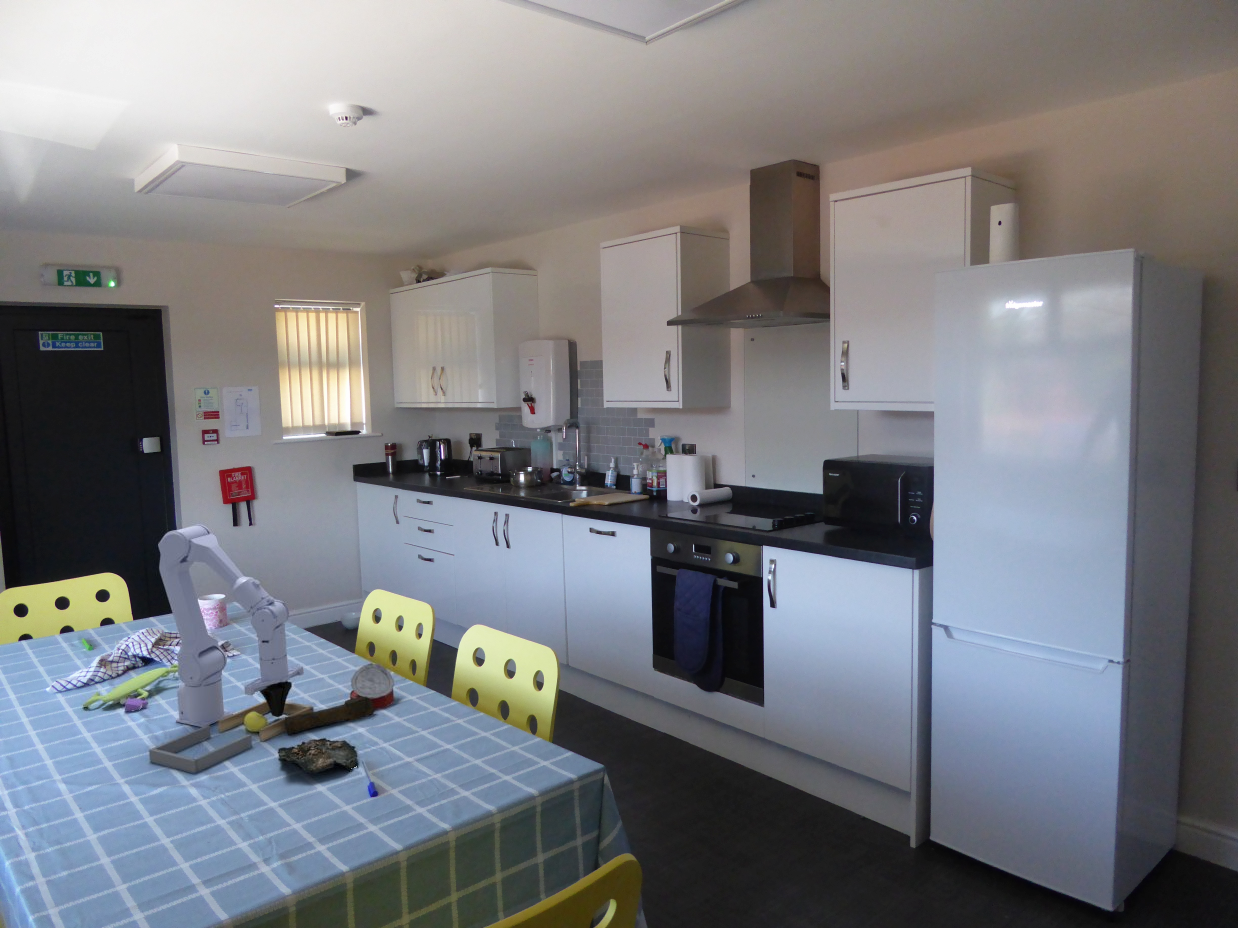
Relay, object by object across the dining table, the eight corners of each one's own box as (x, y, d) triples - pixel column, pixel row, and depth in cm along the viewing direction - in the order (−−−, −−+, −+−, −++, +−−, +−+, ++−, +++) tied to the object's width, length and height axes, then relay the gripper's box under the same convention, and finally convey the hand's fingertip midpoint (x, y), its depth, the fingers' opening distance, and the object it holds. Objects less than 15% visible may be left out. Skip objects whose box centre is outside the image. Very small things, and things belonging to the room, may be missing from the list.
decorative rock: (261, 739, 166) (333, 713, 176) (266, 768, 167) (338, 741, 176) (292, 763, 151) (369, 734, 161) (297, 795, 152) (374, 764, 161)
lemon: (260, 722, 185) (258, 705, 185) (271, 732, 179) (270, 715, 179) (240, 727, 182) (239, 710, 182) (251, 738, 176) (250, 720, 176)
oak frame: (218, 731, 180) (217, 720, 180) (271, 708, 193) (270, 698, 192) (262, 741, 174) (261, 729, 174) (313, 717, 187) (313, 706, 186)
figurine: (224, 685, 211) (222, 664, 211) (113, 721, 189) (111, 698, 189) (184, 674, 222) (182, 653, 221) (75, 707, 199) (73, 684, 199)
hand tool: (287, 738, 176) (286, 717, 176) (284, 732, 179) (283, 711, 179) (377, 718, 185) (375, 698, 185) (372, 712, 189) (371, 693, 188)
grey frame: (149, 761, 166) (148, 749, 166) (208, 736, 178) (207, 725, 178) (194, 773, 160) (193, 760, 160) (252, 746, 172) (251, 734, 172)
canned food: (391, 714, 199) (409, 678, 199) (375, 727, 189) (394, 688, 189) (351, 692, 200) (369, 656, 200) (332, 703, 190) (351, 665, 190)
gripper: (258, 668, 176) (263, 730, 178) (311, 648, 189) (315, 706, 191) (236, 664, 180) (240, 725, 181) (289, 645, 193) (293, 702, 194)
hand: (277, 715), depth 186 cm, fingers closed
